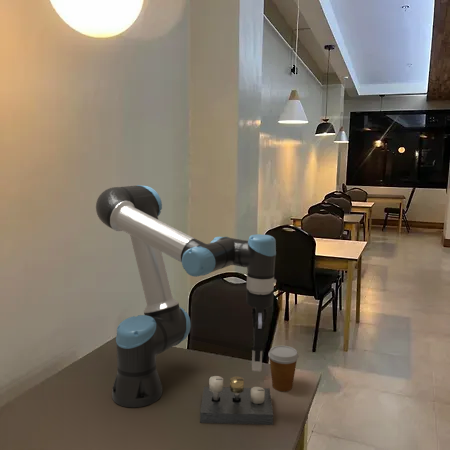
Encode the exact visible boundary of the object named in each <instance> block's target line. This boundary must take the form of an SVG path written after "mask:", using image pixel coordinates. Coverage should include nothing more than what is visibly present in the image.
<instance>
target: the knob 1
mask: <svg viewBox="0 0 450 450" xmlns="http://www.w3.org/2000/svg"><path fill="white" fill-rule="evenodd" d="M208 383H209V385H208V387H209V390H210V391H211V392H213V399H214V400H218V399H219V392H221V391H222V390H223V387H224V378H223V377H222V376H219V375H214V376H213V375H212V376H210V378H209V379H208Z"/></svg>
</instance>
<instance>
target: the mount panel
mask: <svg viewBox="0 0 450 450" xmlns="http://www.w3.org/2000/svg"><path fill="white" fill-rule="evenodd" d="M251 388H252V387H244V391H243V392H241V393H240V397H239V400H238V401H235V400H234V393H233V392H231V391H230V386H229V387H224V386H223V390H222V391H221V392H219V399H218V400H214V399H213V392H211V391H210V390H209V386H203V391H202V397H201V405H200V412H199V423H201V424H229V425H231V424H232V425H262V426H264V425H265V426H268V425H271V426H273V425H274V411H273V402H272V395H271V389H270V387H268V388H266V387H265V388H264V387H262V388H263V389H264V390H265V396H264V402H263V403H261V404H256V403H253V402H251Z"/></svg>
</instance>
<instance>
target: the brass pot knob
mask: <svg viewBox="0 0 450 450" xmlns="http://www.w3.org/2000/svg"><path fill="white" fill-rule="evenodd" d="M229 387H230V391H231V392H233V393H234V400H235V401H238V400H239V397H240V393H241V392H243V391H244V388H245V379H244V378H243V377H241V376H233V377H230V378H229Z"/></svg>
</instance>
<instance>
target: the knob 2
mask: <svg viewBox="0 0 450 450" xmlns="http://www.w3.org/2000/svg"><path fill="white" fill-rule="evenodd" d="M250 388H251V402H253V403H256V404H261V403H263V402H264V396H265V390H264V389H263V388H264V387H262V386H253V387H250Z"/></svg>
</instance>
